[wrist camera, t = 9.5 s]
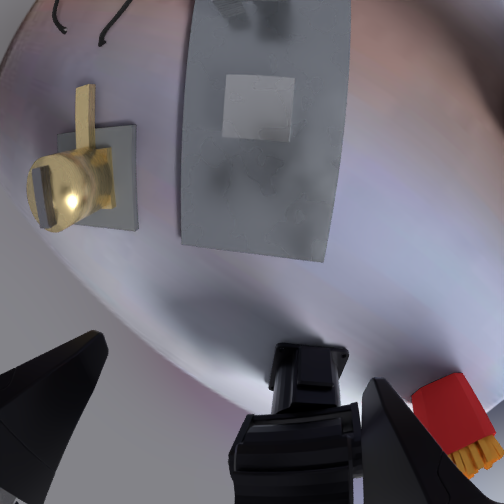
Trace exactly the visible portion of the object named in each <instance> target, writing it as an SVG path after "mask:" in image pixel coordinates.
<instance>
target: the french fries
mask: <svg viewBox="0 0 504 504" xmlns="http://www.w3.org/2000/svg"><path fill="white" fill-rule="evenodd" d="M412 405H413V412H414V414H415V416H416V417H417V418H418V419H419V421H420V422H421V423H422V424H423V425H424V427H425V428H426V429H427V430H428V432H429V433H430V434H431V435H432V437H433V438H434V439H435V440H436V442H437V443H438V444H439V445H440V447H441V448H442V449H443V450H442V451H444V452H445V453H446V454H447V455H448V457H449V458H450V459H451V460H452V462H453V463H454V464H455V465H456V466H457V468H458V469H459V470H460V471H461V472H462V473H463V474H464V475H465V476H466V477H467V478H468V479H471V478H472V477H474V474H476V473H478V470H480V469H481V468H483V467H484V469H486V470H488V469H490V468H491V467H492V464H493V463H494V462H496V461H497V460H500V459H501V458H502V457H503V455H504V450H503V448H502V447H501V446H500V444H499V443H498V441H497V440H496V439H495V437H494V435H495V434H496V432H495V429H494V427H493V425H492V424H491V422H490V420H489V418H488V416H487V414H486V412H485V410H484V409H483V407H482V405H481V403H480V402H479V400H478V398H477V396H476V395H475V393H474V391H473V389H472V388H471V386H470V384H469V383H468V381H467V380H466V378H465V376H464V375H463V373H453V374H450V375H448V376H446V377H443V378H441V379H439V380H437V381H435V382H432V383H430V384H428V385H426V386H423V387H421V388H420V389H419V390H418V391H416V392H415V393H414V394H413V395H412ZM497 458H498V459H497Z"/></svg>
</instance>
